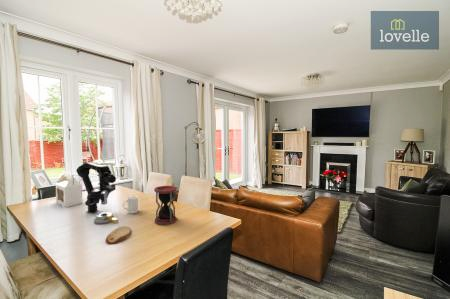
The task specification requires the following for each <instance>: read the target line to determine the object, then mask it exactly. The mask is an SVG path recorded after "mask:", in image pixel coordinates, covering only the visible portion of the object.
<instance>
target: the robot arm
mask: <svg viewBox="0 0 450 299" xmlns="http://www.w3.org/2000/svg"><path fill="white" fill-rule="evenodd" d="M91 170H93V171H96V173H97V176H98V177H99V181H98V184H97V185H99V188H97V189H96V190H95V188H94V185H93V184H92V181H91V178H90V171H91ZM76 173H77V175H78V177H80V178H81V179H82V182H83V184H84V187H85V191H86V193H87V196H86V201H85V202H84V204H85V206H87V211H85V212H86V213H89V214H93V213H96V212H99V209H98V204H99V203H100V202H101V201H102V202H103V195H104V193H103V192H108V194H107V199H108V197H109V195H110V194H111V193H112V192H114V191H116V184H114V183H115V182H116V179H117V178H116V175H114V174H113V172H112V171H111V169H110V168H109V166H108V165H105V164H103V165H101V164H97V163H93V162H91V161H88V162H87V161H86V162H84V163H83V164H81V165H79V166H78V167H77V168H76Z"/></svg>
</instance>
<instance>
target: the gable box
mask: <svg viewBox="0 0 450 299" xmlns="http://www.w3.org/2000/svg"><path fill="white" fill-rule="evenodd" d="M74 176H75V174H73V173H70V172H68V171H67V172H66V171H64V174H62V175H61V176H60V178H59V179H58V180H57V181H56V183H55V202H56V204H59V205H61V206H63V207H65V208H68V207H72V206H77V205H79V204H80V205H81V204H83V185H82V183H81V182H79V180H78V179H77V177H74ZM67 206H68V207H67Z"/></svg>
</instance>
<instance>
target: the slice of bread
mask: <svg viewBox="0 0 450 299" xmlns="http://www.w3.org/2000/svg"><path fill="white" fill-rule="evenodd" d="M131 235H132V229H131V227H129V226H125V225H124V226H123V225H122V226H119V227H117V228H115V229H114V230H112V231H111V232H110V233H109V234H107V236H106V238H105V239H104V240H105V243H106V244H108V245H109V246H110V245H116V244H118V243H122V242H125V240H127V239H128V238H129V237H130V236H131Z"/></svg>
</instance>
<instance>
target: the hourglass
mask: <svg viewBox="0 0 450 299" xmlns="http://www.w3.org/2000/svg"><path fill="white" fill-rule="evenodd" d="M177 190H178V188H177V186H174V185H160V186H156V187H154V192H155V202H156V205H157V209H156V210H155V218H154V224H155V225H158V226H168V225H172V224H175V223H176V222H177V221H178V219H177V216H176V206H175V204H174V201H175V199H176V191H177ZM158 199H159V201H160V202H161V203H159V201H158ZM171 206H172V207H173V209H172V208H171ZM176 220H177V221H176Z"/></svg>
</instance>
